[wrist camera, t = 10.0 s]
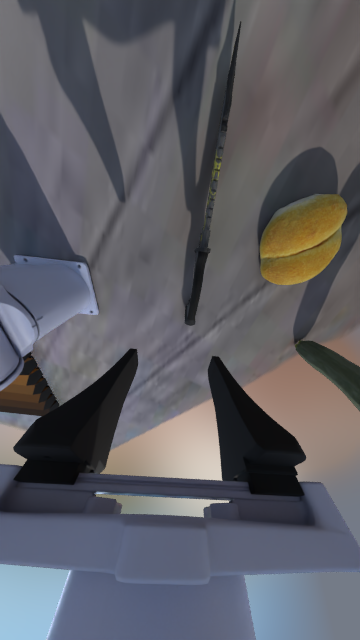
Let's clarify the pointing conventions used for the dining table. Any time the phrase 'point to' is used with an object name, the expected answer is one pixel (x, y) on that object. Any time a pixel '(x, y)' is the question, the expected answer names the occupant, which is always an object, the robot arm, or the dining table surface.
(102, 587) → the robot arm
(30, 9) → the dining table surface
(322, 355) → the vegetable
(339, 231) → the bread roll
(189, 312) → the knife
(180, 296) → the dining table surface
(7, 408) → the pan flute
